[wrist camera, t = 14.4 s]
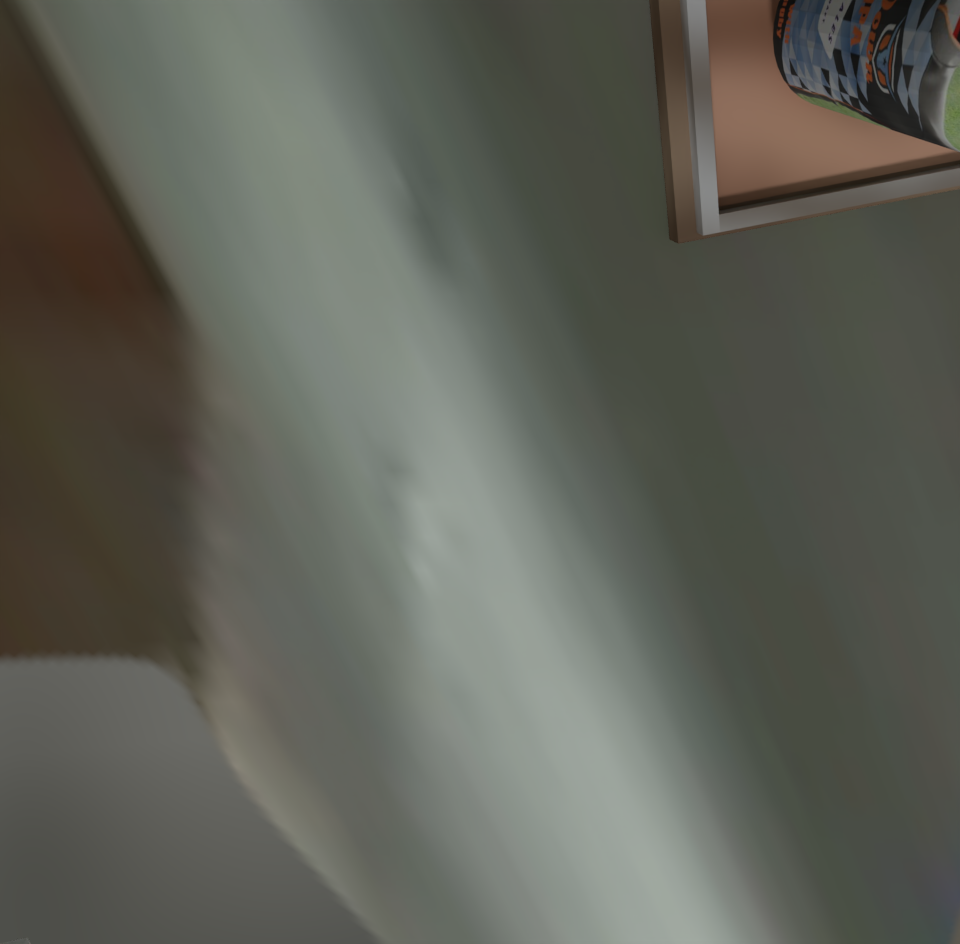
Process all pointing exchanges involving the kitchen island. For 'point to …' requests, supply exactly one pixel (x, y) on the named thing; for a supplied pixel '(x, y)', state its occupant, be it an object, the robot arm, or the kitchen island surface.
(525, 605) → the kitchen island surface
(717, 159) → the framed panel board
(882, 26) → the beverage can
